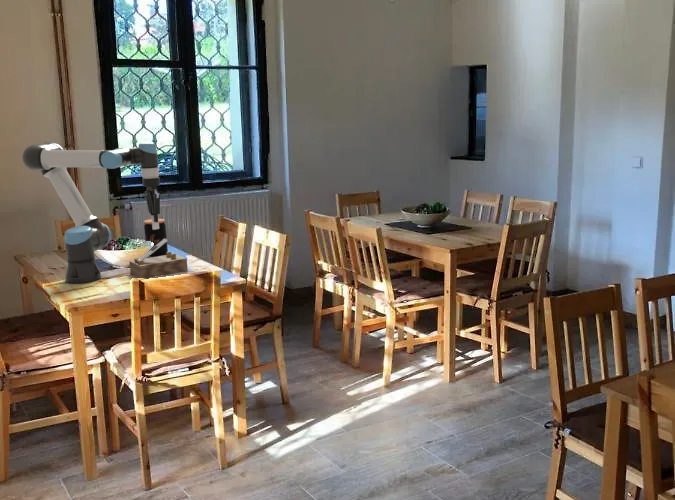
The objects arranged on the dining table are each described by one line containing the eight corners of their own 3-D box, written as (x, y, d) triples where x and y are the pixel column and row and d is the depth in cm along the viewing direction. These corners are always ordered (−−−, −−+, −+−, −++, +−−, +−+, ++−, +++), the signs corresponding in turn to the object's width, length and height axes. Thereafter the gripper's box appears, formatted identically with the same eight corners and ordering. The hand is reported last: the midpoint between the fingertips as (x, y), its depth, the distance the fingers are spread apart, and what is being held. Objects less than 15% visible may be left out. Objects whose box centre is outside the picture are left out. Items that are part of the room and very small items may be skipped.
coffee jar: (142, 256, 364) (139, 221, 360) (156, 252, 373) (153, 218, 369) (158, 257, 359) (155, 222, 355) (172, 253, 368) (169, 219, 364)
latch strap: (139, 263, 321) (138, 261, 320) (137, 262, 323) (135, 260, 323) (168, 241, 327) (166, 238, 327) (165, 240, 330) (164, 237, 329)
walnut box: (141, 279, 317) (139, 261, 315) (130, 273, 328) (128, 256, 326) (187, 271, 329) (186, 253, 328) (175, 265, 341) (174, 249, 339)
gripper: (164, 177, 316) (169, 229, 321) (153, 175, 327) (158, 226, 332) (148, 179, 312) (153, 232, 317) (137, 177, 322) (142, 228, 327)
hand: (155, 228), depth 324 cm, fingers closed
